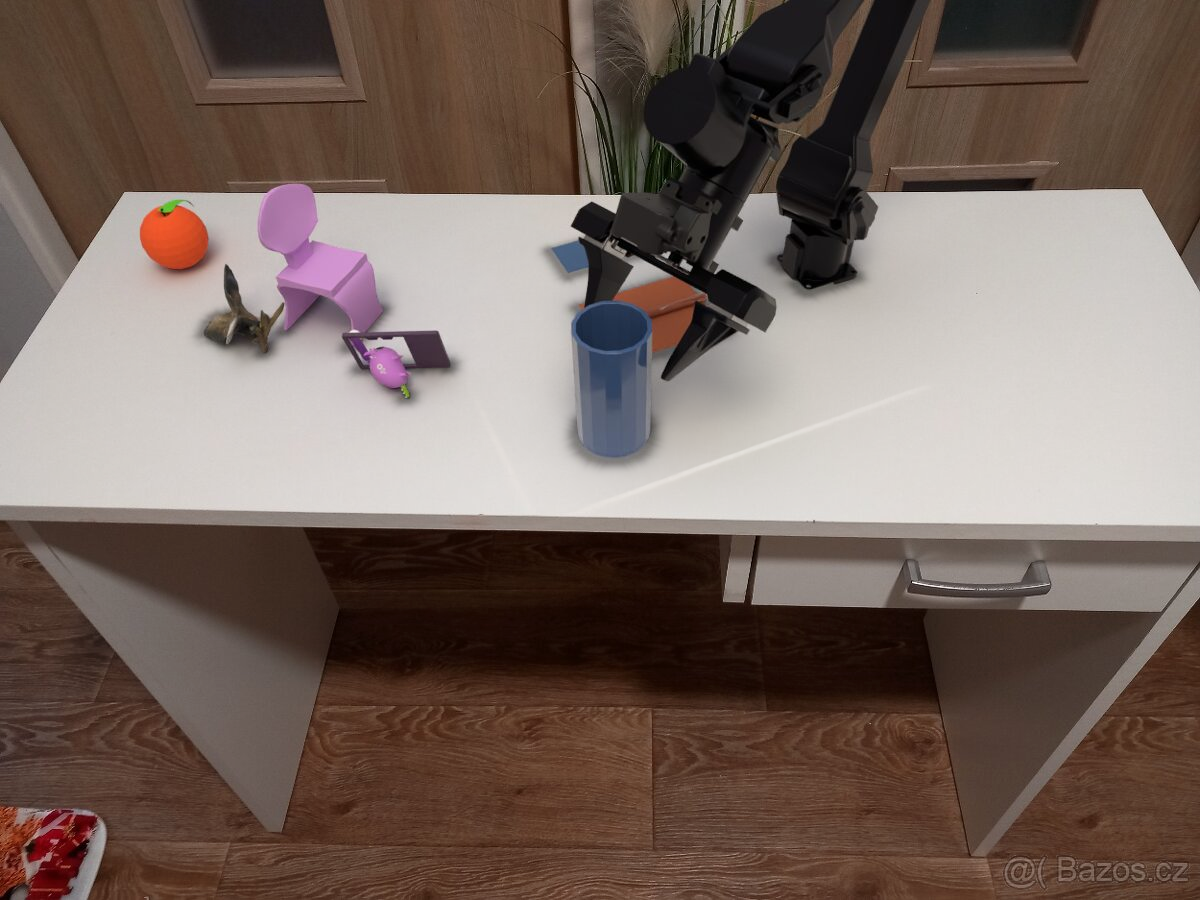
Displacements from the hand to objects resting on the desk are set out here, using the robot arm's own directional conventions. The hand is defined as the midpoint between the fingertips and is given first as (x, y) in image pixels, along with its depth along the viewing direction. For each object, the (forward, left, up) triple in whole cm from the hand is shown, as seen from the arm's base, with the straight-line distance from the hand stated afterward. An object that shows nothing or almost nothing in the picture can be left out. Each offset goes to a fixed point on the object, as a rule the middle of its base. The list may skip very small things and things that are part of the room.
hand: (623, 355), depth 77 cm
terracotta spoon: (-10, -12, -8) cm, 18 cm away
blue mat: (-9, -25, -9) cm, 28 cm away
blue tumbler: (+1, +1, -9) cm, 9 cm away
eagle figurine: (+30, -28, -9) cm, 43 cm away
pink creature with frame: (+17, -14, -9) cm, 24 cm away
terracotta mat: (-9, -12, -9) cm, 18 cm away
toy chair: (+21, -26, -9) cm, 35 cm away
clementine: (+34, -44, -9) cm, 57 cm away
